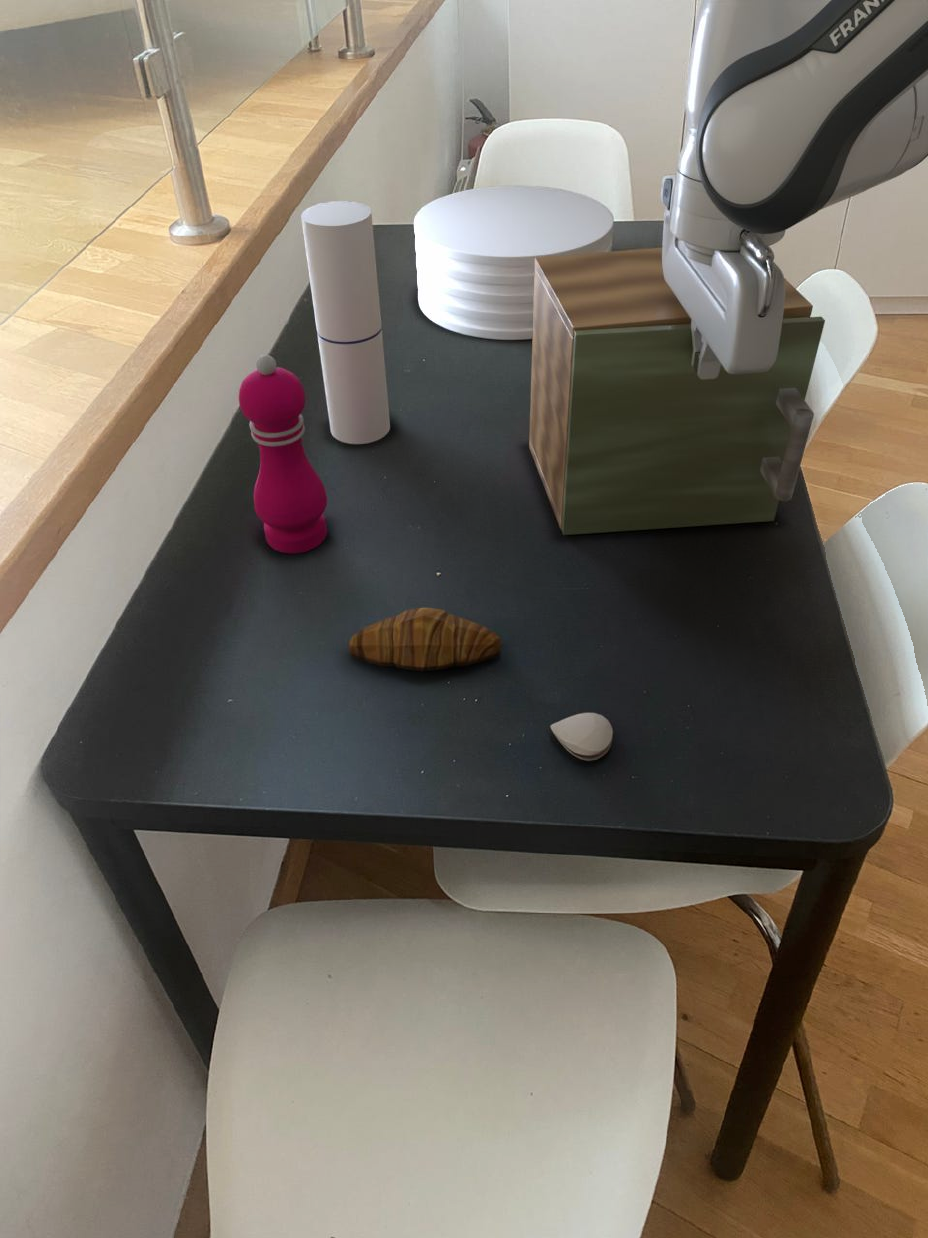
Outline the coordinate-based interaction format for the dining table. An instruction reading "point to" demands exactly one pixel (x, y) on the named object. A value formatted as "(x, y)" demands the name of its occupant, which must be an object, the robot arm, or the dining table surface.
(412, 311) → the dining table surface
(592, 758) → the clam shell
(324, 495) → the pepper mill
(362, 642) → the croissant
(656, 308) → the cupboard
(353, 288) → the cylindrical container
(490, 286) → the plate stack
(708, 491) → the cupboard door
